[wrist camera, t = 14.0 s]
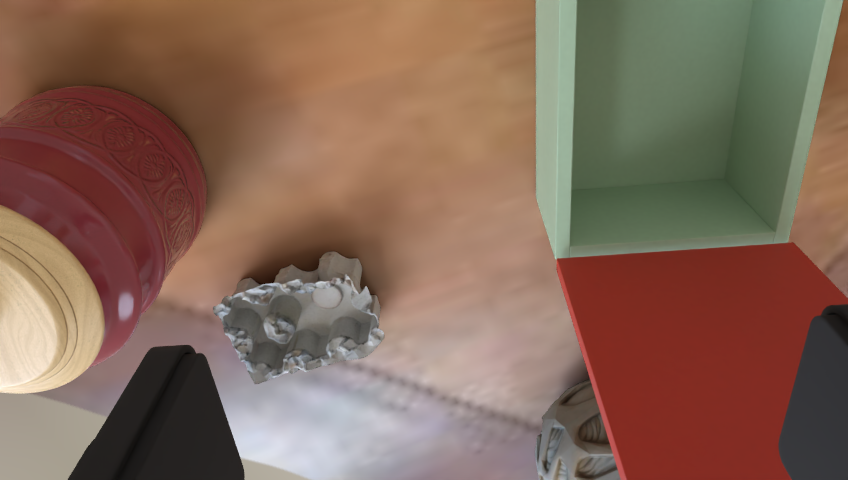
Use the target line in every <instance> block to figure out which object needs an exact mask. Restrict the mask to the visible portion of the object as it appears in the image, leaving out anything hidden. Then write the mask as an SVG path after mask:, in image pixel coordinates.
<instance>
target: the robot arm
mask: <svg viewBox="0 0 848 480" xmlns="http://www.w3.org/2000/svg"><path fill="white" fill-rule="evenodd" d="M778 447H779V454H780V458H781V461H782V463H783V465H784V467H785V469H786V471H787V472H788V474H789V476H790V477H791V479H792V480H848V304H841V305H830V306H827V307H826V308H825V309H824V310H823V311H822V314H821V315H820V316H815V317H814V318H813V319H812V321H811V323H810V326H809V330H808V334H807V337H806V341H805V345H804V349H803V352H802V356H801V360H800V363H799V367H798V371H797V375H796V378H795V382H794V386H793V389H792V393H791V397H790V401H789V404H788V408H787V412H786V415H785V419H784V423H783V427H782V430H781V434H780V438H779V443H778ZM68 480H244V469H243V465H242V462H241V459H240V456H239V453H238V450H237V447H236V444H235V441H234V438H233V435H232V432H231V429H230V426H229V424H228V421H227V418H226V415H225V412H224V409H223V406H222V403H221V400H220V397H219V394H218V391H217V388H216V385H215V382H214V379H213V376H212V373H211V370H210V367H209V364H208V362H207V359H206V357H205V356H204V355H203V354H201V353H197V354H196V352H195V350H194V349H193V348H192V347H191V346H190V345H178V346H162V347H153V348H151V349H150V350H149V351H148V352H147V354H146V355H145V357H144V359H143V360H142V362H141V363H140V365H139V367H138V368H137V370H136V372H135V373H134V375H133V377H132V378H131V380H130V382H129V383H128V385H127V387H126V388H125V390H124V392H123V393H122V395H121V396H120V398H119V400H118V401H117V403H116V405H115V406H114V408H113V410H112V411H111V413H110V415H109V416H108V418H107V420H106V421H105V423H104V425H103V426H102V428H101V429H100V431H99V433H98V434H97V436H96V438H95V439H94V440H93V441H92V442H91V444H90V445H89V446H88V447H87V449H86V450H85V452H84V454H83V455H82V457H81V459H80V460H79V462H78V463H77V465H76V467H75V469H74V470H73V472H72V474H71V475H70V477H69V478H68Z"/></svg>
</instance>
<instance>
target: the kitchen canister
mask: <svg viewBox="0 0 848 480" xmlns="http://www.w3.org/2000/svg"><path fill="white" fill-rule="evenodd" d="M206 203H207V185H206V179H205V174H204V171H203V168H202V165H201V162H200V160H199V158H198V156H197V154H196V152H195V150H194V148H193V147H192V145H191V143H190V142H189V140H188V139H187V138H186V136H185V135H184V134H183V133H182V131H181V130H180V129H179V128H178V127H177V126H176V125H175V124H174V123H173V122H172V121H171V120H170V119H169V118H168V117H166V116H165V115H164V114H163V113H161V112H160V111H159V110H157V109H156V108H154V107H153V106H151V105H150V104H148V103H146V102H145V101H143V100H141V99H139V98H137V97H135V96H132V95H130V94H127V93H125V92H122V91H119V90H115V89H111V88H106V87H100V86H86V85H85V86H72V87H65V88H58V89H53V90H49V91H45V92H42V93H40V94H37V95H35V96H33V97H31V98H29V99H27V100H25V101H23V102H21V103H20V104H18V105H17V106H15V107H14V108H13V109H11V110H10V111H9V112H8V113H7V114H6V115H5V116H4V117H2V118H0V392H3V393H34V392H40V391H46V390H50V389H53V388H57V387H59V386H62V385H64V384H66V383H68V382H70V381H72V380H74V379H75V378H77V377H78V376H79V375H81V374H82V373H83V372H84V371H85V370H86V369H87V368H90V367H93V366H95V365H98V364H100V363H102V362H103V361H105V360H107V359H108V358H110V357H112V356H113V355H114V354H116V353H117V352H118V351H119V350H120V349H121V348H122V347H123V346H124V345H125V344H126V343H127V342H128V340H129V339H130V338H131V336H132V334H133V333H134V331H135V329H136V327H137V324H138V322H139V319H140V316H141V315H142V314H143V313H145V312H146V311H147V310H148V308H149V307H150V306H151V305H152V303H153V302H154V301H155V299H156V297H157V296H158V294H159V292H160V289H161V287H162V284H163V282H164V280H165V279H166V277H167V276H168V274H169V273H170V271H171V270H172V268H173V267H174V265H175V264H176V262H177V261H179V260H180V259H181V258H182V257H183V256H184V255H185V253H186V252H187V251H188V250H189V248H190V247H191V245H192V244H193V242H194V241H195V239H196V237H197V235H198V233H199V231H200V229H201V226H202V223H203V219H204V213H205V209H206Z"/></svg>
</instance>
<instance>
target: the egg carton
mask: <svg viewBox="0 0 848 480" xmlns="http://www.w3.org/2000/svg"><path fill="white" fill-rule="evenodd" d="M319 261H320V263H319V267H318V269H316V270H314V271H311V272H306V271H301V270H300V269H298V268H296V267H295V266H293V265H292V264H291V265H290V266H288V267H286V268H283V269H280V271H279V274H278V275H277V276H276V278H275V281H274V283H270V284H263V285H261V284H258V283H256V282H255V281H254V280H253V279H252V278H248V279H243V280H241V281H240V282H239V283H238V285H237V290H236V292H235V293H234V294H233V295H232V297H228V296H226V297H224V298H223V300H222V302H221V304H219V305H217V306H216V307H215V306H214V307H213V312H214V314H215V315H219V317H220V319H221V320H222V323H223V326H224V332H225V335H227V336H229V338H230V339H231V342H232V345H233V348H234V349H235V350H236V351H237V354H238V356H239V358H240V361H243V362H245V364H246V366H247V370H248V372H249V374H250V376H251V378H252V380H253V381H254V383H255V384H259V383H262V382H264V381H267V380H270V379H273V378H276V377H279V376H281V375H282V374H284V373H287V372H290V373H295V372H296V371H297V370H303V371H305V372H308V371H310V370H312V369H314V368H317V367H320V366H325V365H330V364H333V363H336V362H338V361H345V360H354V359H361V358H364V357H366V356H368V355H369V354H371V353H372V352H373V351H374V349H375V348H376V347H377V346H378V345H379V344H380V343H381V341H382V340H383V339H384V333H383V331H382V330H381V329H378V326H379V317H380V309H381V307H380V304H379V301H378V297H377V296H376V295H370V293H369V290H368V288H367V286H365V287H364V288H363V289H361V288H360V279H361V275H362V266H361V264H360V261H359V260H358V259H357V258H353V259H348V258H345V257H343V256H341V255H340V254H339V253H337V252H327V253H325V254H323V256H322V258H321V259H319Z"/></svg>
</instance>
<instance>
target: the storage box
mask: <svg viewBox="0 0 848 480" xmlns="http://www.w3.org/2000/svg"><path fill="white" fill-rule="evenodd" d="M842 4H843V0H536V199H537V202H538V206H539V209H540V212H541V215H542V219H543V222H544V225H545V228H546V231H547V234H548V238H549V241H550V244H551V247H552V250H553V253H554V257H555V259H557V258H570V257H585V256H600V255H614V254H629V253H644V252H659V251H673V250H688V249H703V248H718V247H733V246H747V245H762V244H777V243H788V240H789V235H790V231H791V226H792V222H793V218H794V213H795V209H796V205H797V200H798V196H799V191H800V187H801V183H802V178H803V174H804V170H805V165H806V161H807V157H808V152H809V148H810V143H811V139H812V135H813V130H814V126H815V122H816V117H817V113H818V109H819V104H820V100H821V95H822V91H823V87H824V82H825V78H826V74H827V69H828V65H829V61H830V56H831V52H832V47H833V43H834V39H835V34H836V30H837V26H838V21H839V17H840V12H841V8H842Z"/></svg>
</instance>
